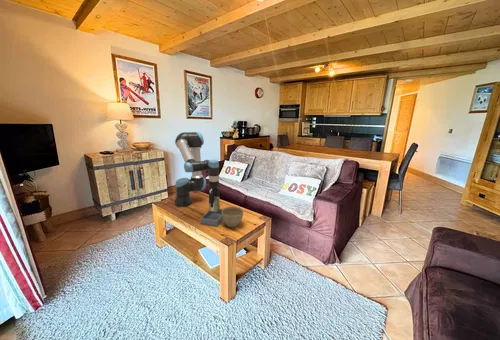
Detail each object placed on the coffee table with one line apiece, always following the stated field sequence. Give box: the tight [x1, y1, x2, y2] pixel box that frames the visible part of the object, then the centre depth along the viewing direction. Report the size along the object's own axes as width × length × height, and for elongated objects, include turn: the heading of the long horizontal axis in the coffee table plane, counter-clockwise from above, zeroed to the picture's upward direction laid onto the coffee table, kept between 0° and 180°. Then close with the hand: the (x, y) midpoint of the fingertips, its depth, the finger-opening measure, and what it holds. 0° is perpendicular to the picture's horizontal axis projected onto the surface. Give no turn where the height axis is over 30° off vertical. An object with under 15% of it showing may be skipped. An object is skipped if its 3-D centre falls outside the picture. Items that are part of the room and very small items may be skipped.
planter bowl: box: [222, 206, 244, 228], centre depth 152 cm, size 16×16×11 cm
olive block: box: [208, 196, 221, 212], centre depth 156 cm, size 6×6×10 cm
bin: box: [200, 208, 224, 228], centre depth 159 cm, size 20×14×4 cm
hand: (214, 208), depth 157 cm, fingers closed on olive block, 6 cm apart
